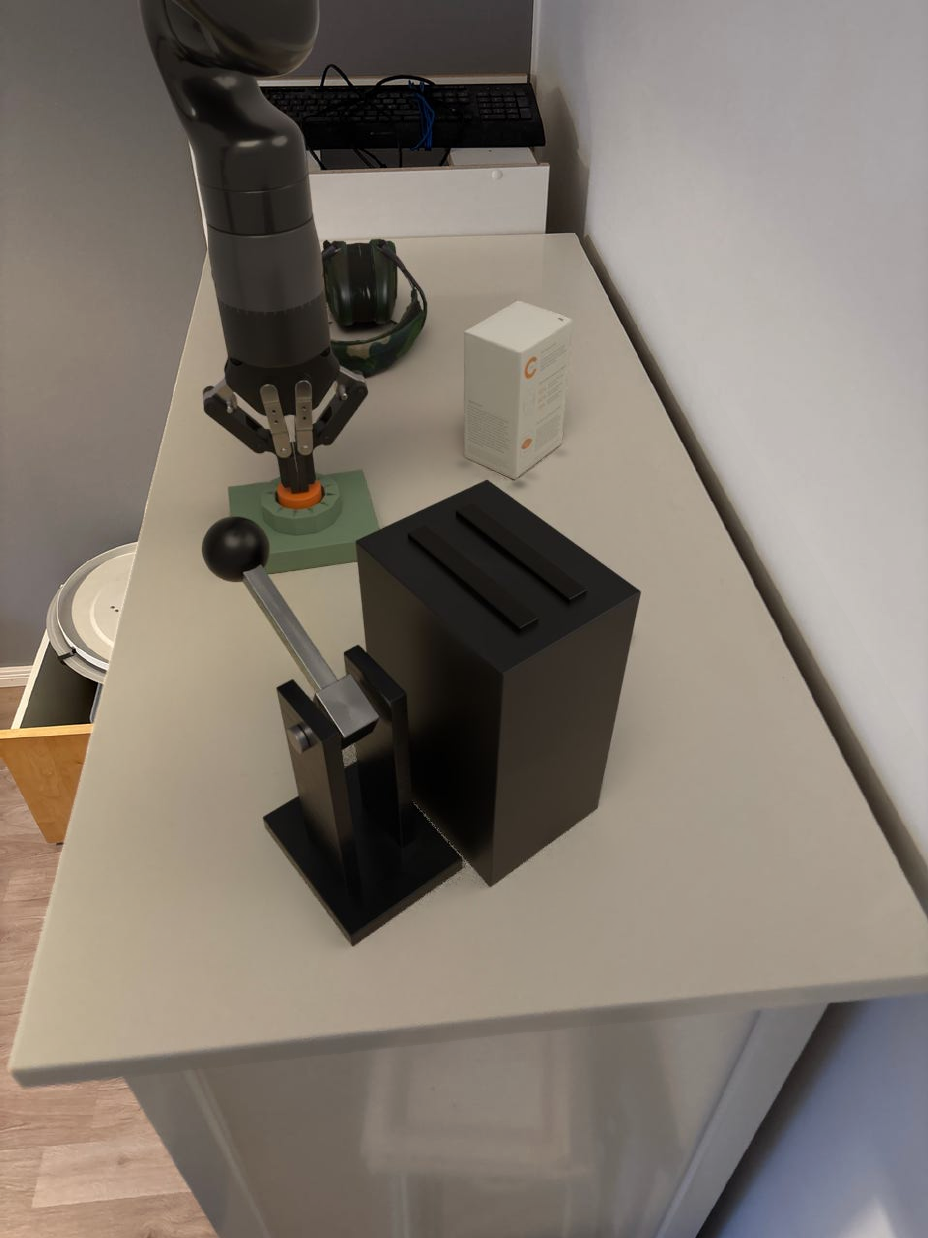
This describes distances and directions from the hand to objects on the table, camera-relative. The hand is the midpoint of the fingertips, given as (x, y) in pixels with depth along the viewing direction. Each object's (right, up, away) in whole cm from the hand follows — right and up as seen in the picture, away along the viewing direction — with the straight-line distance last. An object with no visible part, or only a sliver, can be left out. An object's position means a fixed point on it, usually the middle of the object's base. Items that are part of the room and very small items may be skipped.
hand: (299, 486), depth 74 cm
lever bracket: (+7, -25, -19) cm, 32 cm away
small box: (+18, +5, +13) cm, 23 cm away
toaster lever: (+4, -12, -25) cm, 28 cm away
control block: (0, -3, +3) cm, 5 cm away
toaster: (+15, -22, -15) cm, 31 cm away
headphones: (+2, +21, +29) cm, 36 cm away
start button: (0, -1, +1) cm, 2 cm away
